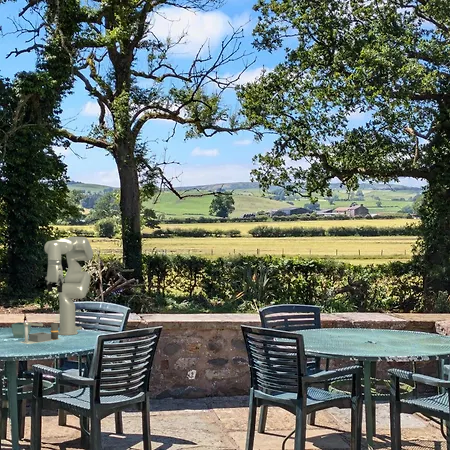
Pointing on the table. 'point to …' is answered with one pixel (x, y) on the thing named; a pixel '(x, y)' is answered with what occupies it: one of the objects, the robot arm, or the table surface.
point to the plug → (54, 330)
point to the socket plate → (36, 337)
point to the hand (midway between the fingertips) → (54, 292)
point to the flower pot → (19, 330)
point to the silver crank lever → (33, 324)
